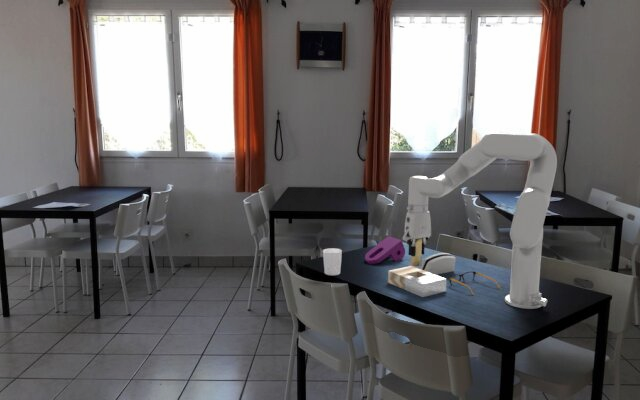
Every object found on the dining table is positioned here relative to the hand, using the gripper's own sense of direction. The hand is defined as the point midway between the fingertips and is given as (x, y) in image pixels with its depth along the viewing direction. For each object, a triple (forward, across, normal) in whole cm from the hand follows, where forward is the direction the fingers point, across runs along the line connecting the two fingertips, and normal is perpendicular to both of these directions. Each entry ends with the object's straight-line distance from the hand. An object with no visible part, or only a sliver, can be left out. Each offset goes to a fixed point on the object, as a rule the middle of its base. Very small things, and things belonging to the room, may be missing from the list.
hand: (416, 254), depth 202 cm
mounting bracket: (+14, +13, +36) cm, 41 cm away
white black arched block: (+14, +20, +8) cm, 25 cm away
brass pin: (+4, 0, 0) cm, 4 cm away
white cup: (+14, -18, +32) cm, 39 cm away
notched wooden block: (+13, 0, +5) cm, 14 cm away
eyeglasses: (+14, +19, -12) cm, 27 cm away
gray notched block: (+13, 0, -5) cm, 14 cm away
